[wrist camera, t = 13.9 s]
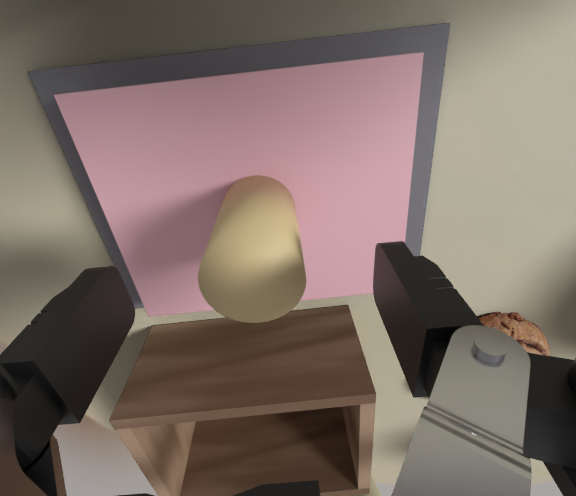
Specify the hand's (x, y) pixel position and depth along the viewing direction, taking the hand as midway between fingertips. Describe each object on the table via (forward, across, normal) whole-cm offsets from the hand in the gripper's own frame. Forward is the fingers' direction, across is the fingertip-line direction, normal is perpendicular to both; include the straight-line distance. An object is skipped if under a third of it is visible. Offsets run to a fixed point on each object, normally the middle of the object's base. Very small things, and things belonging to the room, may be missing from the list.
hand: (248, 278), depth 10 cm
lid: (+9, 0, +1) cm, 9 cm away
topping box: (+9, +2, +15) cm, 18 cm away
